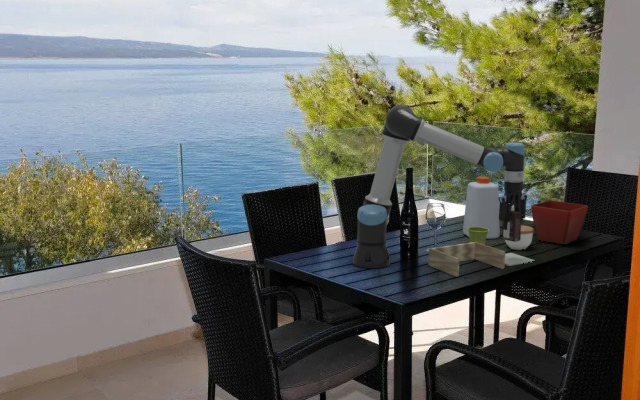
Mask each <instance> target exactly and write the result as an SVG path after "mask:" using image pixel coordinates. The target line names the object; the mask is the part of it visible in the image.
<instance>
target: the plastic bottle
mask: <svg viewBox="0 0 640 400" xmlns="http://www.w3.org/2000/svg"><path fill="white" fill-rule="evenodd" d="M466 189H467V190H466V198H465V207H464V209H465V210H464V217H463V226H462V233H463V235H466V237H468V238H469V232H468V230H467V228H469V227H483V228H487V229H489V231H488V234H487V237H486V240H491V239H492V240H493V239H498V238H499V237H500V235H501V233H500V232H501V229H500V227H501V226H500V220H499V204H500V202H499V197H500V196H499V191H500V190H499V185H498V184H496V183H493V182H491V179H490V177H489V176H478V177H476V181H473V182H472V181H471V182H469V183H467V187H466Z"/></svg>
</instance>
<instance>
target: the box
mask: <svg viewBox="0 0 640 400" xmlns="http://www.w3.org/2000/svg"><path fill="white" fill-rule="evenodd" d="M508 222H510V232H509V238H506V237H503V236H502V240H504V241H505V240H509V241H513V242H517V241H520V238H521V225H522V221H521V212H517V211H511V212H510V216H509V221H508ZM502 231H503V233H502V235H503V234H504V230H503V229H502Z"/></svg>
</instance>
